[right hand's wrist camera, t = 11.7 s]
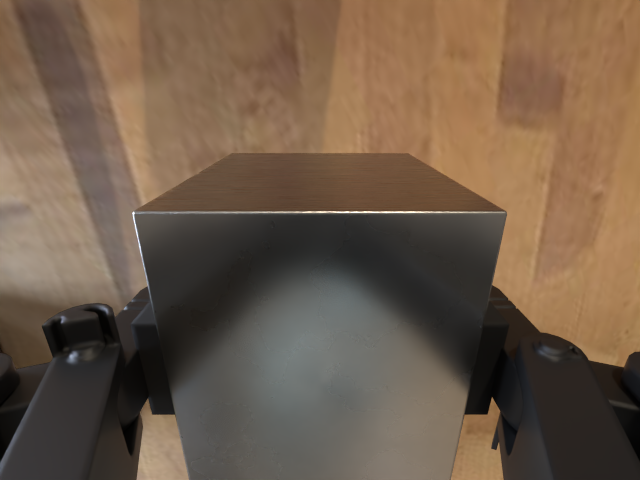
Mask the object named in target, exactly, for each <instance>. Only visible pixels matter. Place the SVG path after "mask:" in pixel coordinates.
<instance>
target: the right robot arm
mask: <svg viewBox="0 0 640 480" xmlns="http://www.w3.org/2000/svg"><path fill="white" fill-rule="evenodd" d="M42 328H43V331H44V334H45V336H46V339H47V342H48V345H49V348H50V350H51V353H52V356H53V359H52V361H51V362H49V363H44V364H39V365H34V366H29V367H24V368H20V369H16V367H15V365H14V363H13V360H12V358H11V357H10V356H8V355H7V354H3V353H0V480H136V479H137V470H138V462H139V454H140V446H141V437H142V429H143V425H142V419H141V415H140V411H141V409H142V407H143V406H144V404H145V402H146V400H147V399H149V403H150V407H151V411H152V414H175V411H174V406H173V401H172V397H171V392H170V387H169V383H168V378H167V373H166V369H165V364H164V359H163V354H162V350H161V345H160V340H159V336H158V331H157V326H156V322H155V317H154V312H153V307H152V303H151V298H150V293H149V289H148V287H146V288H144V289H142V290H141V291H140V292H139V293H138V294H137V295H136V296H135V297H134V298H133V299H132V302H129V303H128V305H127V306H126V307H125V308H124V310H122V311H121V312H120V313H119V314H118V315H117V316H116V317H115V316H114V313H113V309H112V308H111V307H110V306H108V305H107V304H100V303H93V304H84V305H80V306H76V307H72V308H70V309H67V310H65V311H62V312H60V313H58V314H56V315H55V316H53V317H51V318H50V319H48V320H47V321H46V322H45V323H44V324H43V325H42ZM492 397H493V399H494V401H495V402H496V404H497V406H498V408H499V409H500V415H499V419H498V423H497V426H496V430H495V434H494V438H493V442H492V448H491V449H495V450H496V449H497V446H498V442H499V445H500V453H501V461H502V469H503V478H504V480H640V352H634V353H632V354H631V355H629V357H628V359H627V362H626V364H625V367H624V368H623V367H619V366H614V365H609V364H604V363H599V362H594V361H589V360H588V358H587V357H586V355H585V354H584V353H583V352H582V350H581V349H579V348H578V347H577V346H575V345H574V344H572V343H571V342H569V341H567V340H565V339H563V338H560V337H558V336H555V335H551V334H548V333H540V332H539V331H538V329H537V328H536V327H535V326H534V325H533V324H532V323H531V322H530V321H529V320H528V319H527V318H526V317H525V316H524V315H523V314H522V313H521V312H520V311H519V310H518V309H516V306H515V305H514V304H513V303H512V302H511V301H508V298H507V297H506V296H505V295H504V294H503V293H502V292H501V291H500V290H499V289H498V288H496V287H494V286H493V285H492V287H491V292H490V296H489V301H488V306H487V310H486V315H485V320H484V325H483V329H482V334H481V339H480V343H479V348H478V353H477V358H476V362H475V367H474V372H473V376H472V381H471V386H470V391H469V395H468V400H467V405H466V409H465V414H488V410H489V406H490V402H491V398H492Z"/></svg>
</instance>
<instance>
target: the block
mask: <svg viewBox="0 0 640 480" xmlns="http://www.w3.org/2000/svg"><path fill="white" fill-rule="evenodd" d="M506 216H507V212H506V211H505V210H503V209H501V208H500V207H498V206H496V205H495V204H493V203H491V202H489V201H488V200H486V199H484V198H483V197H481V196H479V195H478V194H476V193H474V192H473V191H471V190H469V189H467V188H466V187H464V186H462V185H461V184H459V183H457V182H456V181H454V180H452V179H451V178H449V177H447V176H446V175H444V174H442V173H440V172H439V171H437V170H435V169H434V168H432V167H430V166H429V165H427V164H425V163H424V162H422V161H420V160H418V159H417V158H415V157H413V156H412V155H410V154H408V153H232V154H230V155H228V156H226V157H225V158H223V159H221V160H220V161H218V162H216V163H215V164H213V165H211V166H209V167H208V168H206V169H204V170H203V171H201V172H199V173H198V174H196V175H194V176H193V177H191V178H189V179H187V180H186V181H184V182H182V183H181V184H179V185H177V186H176V187H174V188H172V189H171V190H169V191H167V192H165V193H164V194H162V195H160V196H159V197H157V198H155V199H154V200H152V201H150V202H148V203H147V204H145V205H143V206H142V207H140V208H138V209H137V210H135V211H133V218H134V223H135V228H136V232H137V237H138V242H139V246H140V251H141V256H142V260H143V265H144V270H145V275H146V279H147V284H148V289H149V293H150V298H151V303H152V307H153V312H154V317H155V322H156V326H157V331H158V336H159V340H160V345H161V350H162V354H163V359H164V364H165V369H166V373H167V378H168V383H169V387H170V392H171V397H172V401H173V406H174V411H175V416H176V420H177V425H178V430H179V434H180V439H181V444H182V448H183V453H184V458H185V463H186V467H187V472H188V477H189V480H451V475H452V471H453V466H454V461H455V456H456V452H457V447H458V442H459V438H460V433H461V428H462V424H463V419H464V414H465V409H466V405H467V400H468V395H469V391H470V386H471V381H472V376H473V372H474V367H475V362H476V358H477V353H478V348H479V343H480V339H481V334H482V329H483V325H484V320H485V315H486V310H487V306H488V301H489V296H490V292H491V287H492V282H493V277H494V273H495V268H496V263H497V259H498V254H499V249H500V245H501V240H502V235H503V230H504V226H505V221H506Z"/></svg>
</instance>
